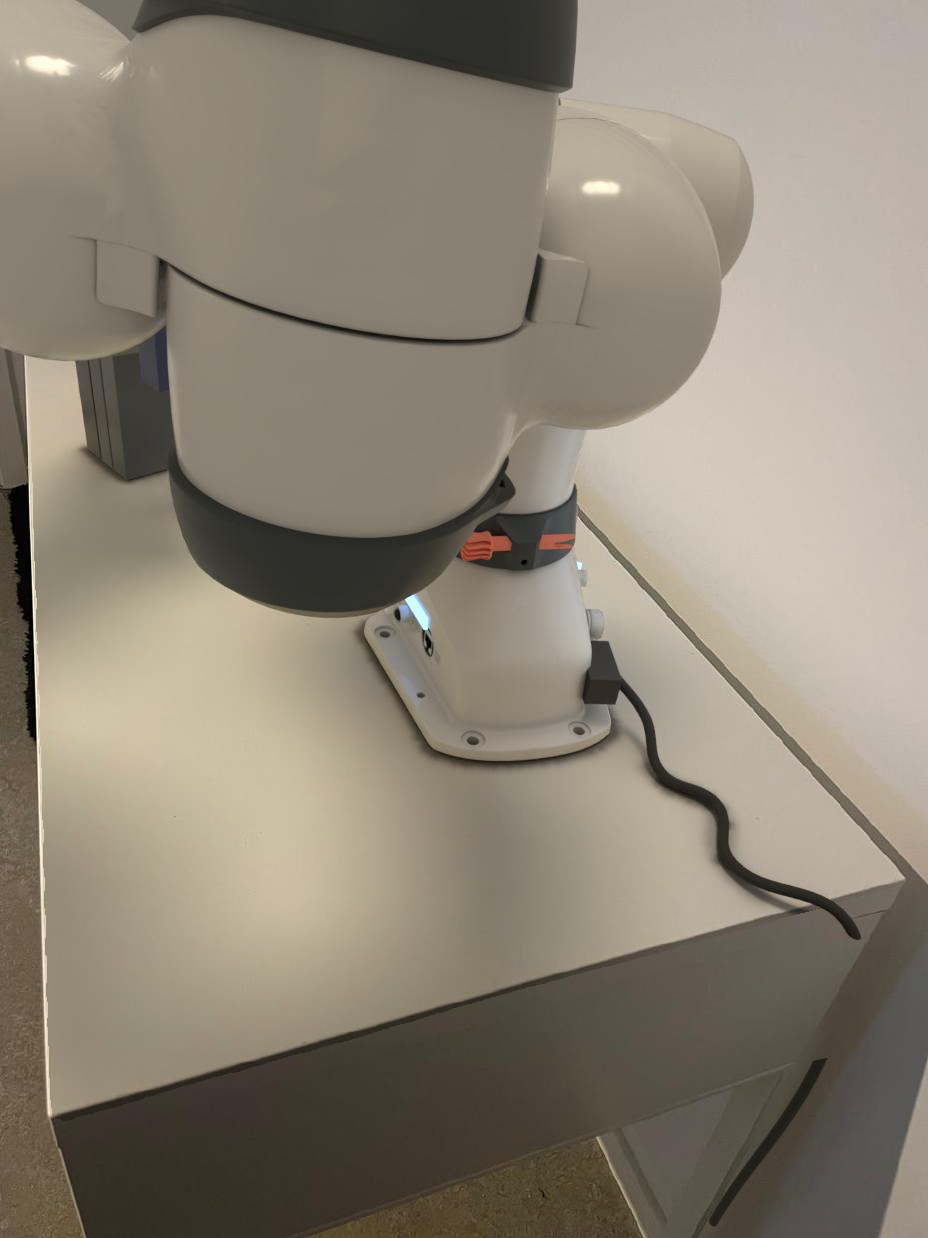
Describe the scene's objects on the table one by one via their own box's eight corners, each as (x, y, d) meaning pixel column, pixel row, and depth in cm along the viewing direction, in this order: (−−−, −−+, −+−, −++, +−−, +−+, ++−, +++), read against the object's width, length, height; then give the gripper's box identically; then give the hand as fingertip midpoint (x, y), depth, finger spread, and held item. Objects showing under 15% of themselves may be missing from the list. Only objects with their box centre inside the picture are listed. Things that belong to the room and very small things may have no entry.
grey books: (215, 456, 95) (209, 334, 87) (126, 480, 89) (111, 351, 81) (174, 428, 99) (165, 309, 91) (87, 449, 93) (69, 323, 85)
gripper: (-18, 132, 69) (116, 252, 81) (117, 194, 58) (248, 323, 70) (31, 66, 69) (158, 196, 81) (174, 116, 59) (296, 257, 70)
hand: (201, 255), depth 75 cm, fingers closed on navy book, 3 cm apart
